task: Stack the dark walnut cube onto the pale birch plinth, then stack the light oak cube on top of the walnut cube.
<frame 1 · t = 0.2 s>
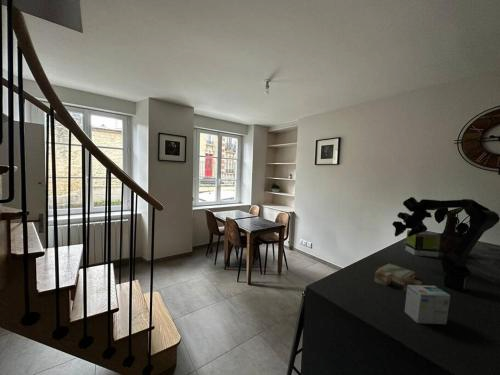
hand: (401, 235, 132), 15 cm above the table, tool tilted 30°, fingers open, 9 cm apart
walnut block: (412, 291, 97), on the table
glass bottle: (447, 252, 154), on the table
tea box: (420, 254, 147), on the table
plinth: (395, 276, 111), on the table
light bulb box: (424, 318, 79), on the table
oak block: (382, 282, 104), on the table
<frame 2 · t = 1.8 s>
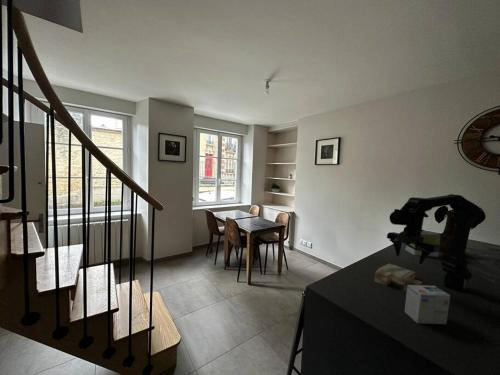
hand: (408, 259, 99), 13 cm above the table, tool pointing down, fingers open, 9 cm apart
nothing on the table moved.
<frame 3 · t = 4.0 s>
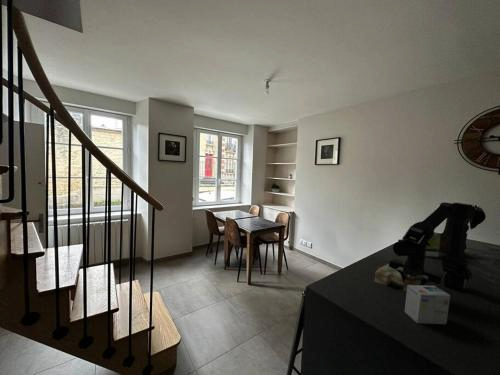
hand: (412, 289, 97), 1 cm above the table, tool pointing down, fingers closed on walnut block, 5 cm apart
walnut block: (412, 291, 97), on the table, touching gripper
everything else where it was.
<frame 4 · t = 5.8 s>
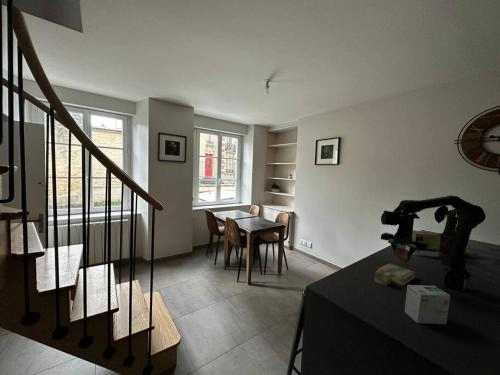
hand: (401, 258, 106), 11 cm above the table, tool pointing down, fingers closed on walnut block, 5 cm apart
walnut block: (401, 260, 106), point 10 cm above the table, touching gripper
everything else where it was.
when the fingers open (5 cm above the table, at t = 7.6 s): walnut block stays where it is, resting on plinth.
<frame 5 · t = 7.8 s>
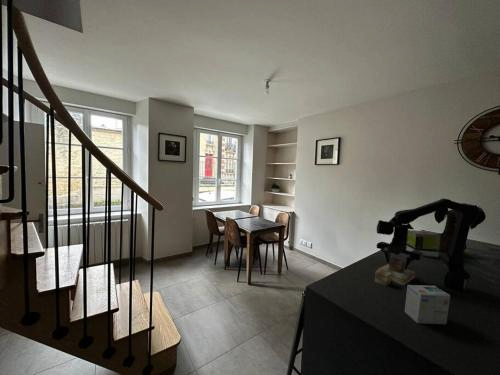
hand: (396, 266, 110), 5 cm above the table, tool pointing down, fingers open, 7 cm apart
walnut block: (396, 270, 111), point 3 cm above the table, touching plinth
everything else where it was.
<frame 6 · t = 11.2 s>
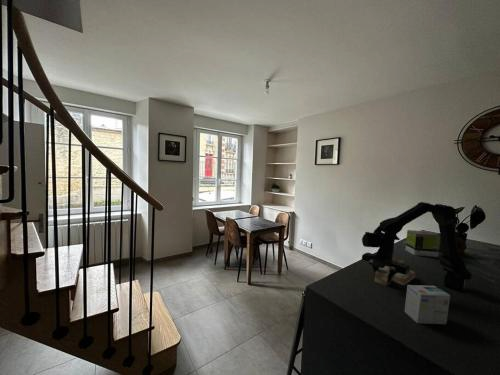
hand: (382, 280, 104), 1 cm above the table, tool pointing down, fingers closed on oak block, 5 cm apart
oak block: (382, 282, 104), on the table, touching gripper
everything else where it was.
when the fingers open (10 cm above the table, at t = 14.4 s): oak block stays where it is, resting on walnut block.
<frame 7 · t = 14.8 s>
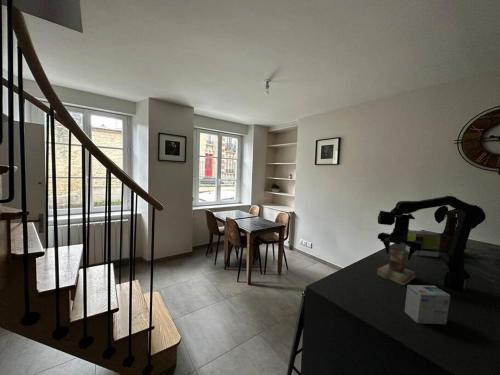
hand: (397, 257, 110), 10 cm above the table, tool pointing down, fingers open, 9 cm apart
walnut block: (396, 270, 111), point 3 cm above the table, touching oak block, plinth
oak block: (397, 260, 110), point 8 cm above the table, touching walnut block
everything else where it was.
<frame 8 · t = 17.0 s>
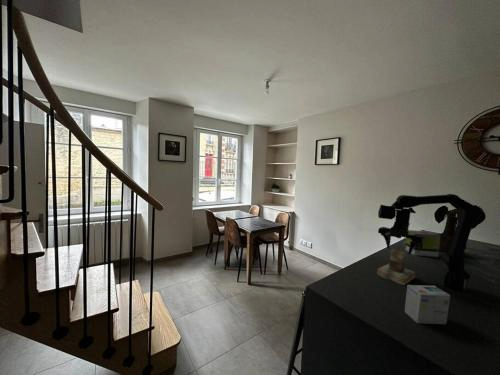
hand: (398, 251, 110), 13 cm above the table, tool pointing down, fingers open, 9 cm apart
nothing on the table moved.
at the end: walnut block 0.0 cm from the plinth (horizontally); oak block 0.0 cm off-centre on the walnut block, point 5.0 cm above the walnut block's base; oak block touching walnut block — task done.
